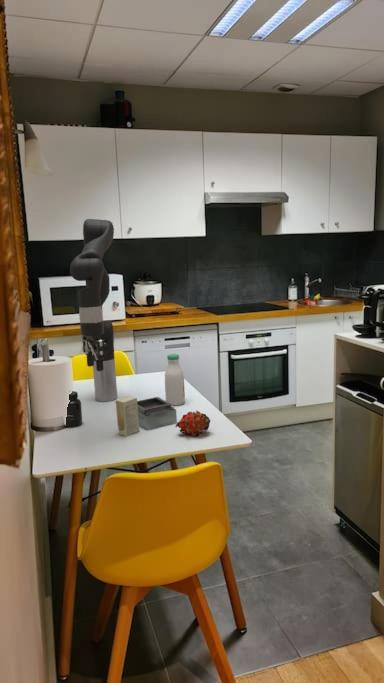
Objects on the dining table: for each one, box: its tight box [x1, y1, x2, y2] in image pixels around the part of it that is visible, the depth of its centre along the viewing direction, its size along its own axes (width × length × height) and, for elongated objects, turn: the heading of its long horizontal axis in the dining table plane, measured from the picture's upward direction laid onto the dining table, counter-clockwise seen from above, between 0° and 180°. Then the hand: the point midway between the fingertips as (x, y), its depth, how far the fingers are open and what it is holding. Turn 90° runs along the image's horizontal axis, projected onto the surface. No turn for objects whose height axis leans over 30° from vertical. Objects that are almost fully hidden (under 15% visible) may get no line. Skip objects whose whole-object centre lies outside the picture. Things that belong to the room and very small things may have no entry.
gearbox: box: [137, 396, 178, 431], centre depth 183 cm, size 16×12×6 cm
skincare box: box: [115, 395, 140, 437], centre depth 171 cm, size 6×4×12 cm
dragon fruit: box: [175, 410, 211, 437], centre depth 168 cm, size 8×8×12 cm
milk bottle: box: [164, 353, 186, 407], centre depth 200 cm, size 8×8×20 cm
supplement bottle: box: [66, 390, 83, 428], centre depth 181 cm, size 7×7×12 cm
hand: (95, 368), depth 166 cm, fingers open, 8 cm apart
